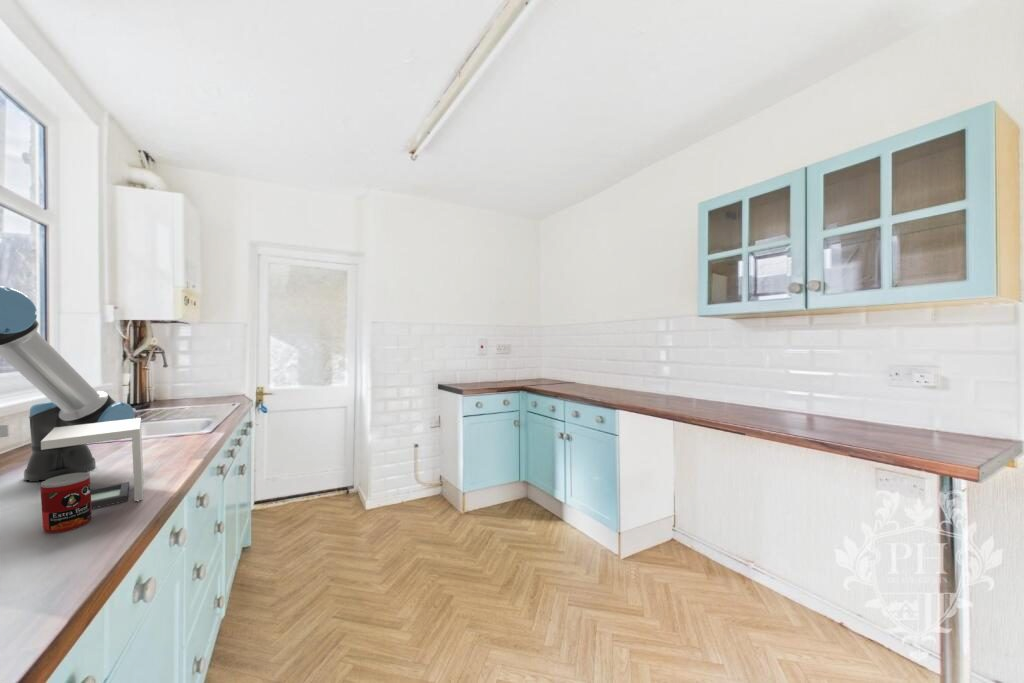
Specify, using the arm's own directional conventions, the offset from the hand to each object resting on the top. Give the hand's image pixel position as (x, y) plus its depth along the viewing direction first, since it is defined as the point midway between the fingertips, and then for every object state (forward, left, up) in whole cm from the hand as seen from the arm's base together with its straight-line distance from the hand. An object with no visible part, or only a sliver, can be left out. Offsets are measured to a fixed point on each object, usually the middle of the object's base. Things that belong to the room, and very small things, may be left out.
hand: (0, 435), depth 87 cm
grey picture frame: (-20, -1, -22) cm, 30 cm away
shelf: (-20, -1, -22) cm, 30 cm away
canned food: (-6, +7, -23) cm, 24 cm away
